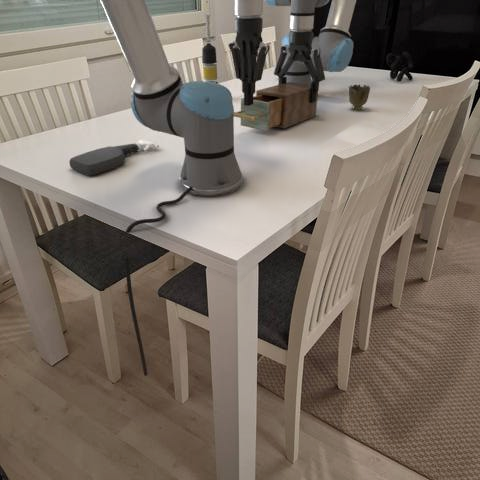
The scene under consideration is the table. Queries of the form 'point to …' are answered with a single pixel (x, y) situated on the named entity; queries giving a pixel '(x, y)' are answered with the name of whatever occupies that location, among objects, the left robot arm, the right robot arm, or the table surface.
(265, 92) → the cabinet
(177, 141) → the table surface
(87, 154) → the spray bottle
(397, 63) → the squiggle
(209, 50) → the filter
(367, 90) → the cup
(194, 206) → the table surface
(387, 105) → the table surface
